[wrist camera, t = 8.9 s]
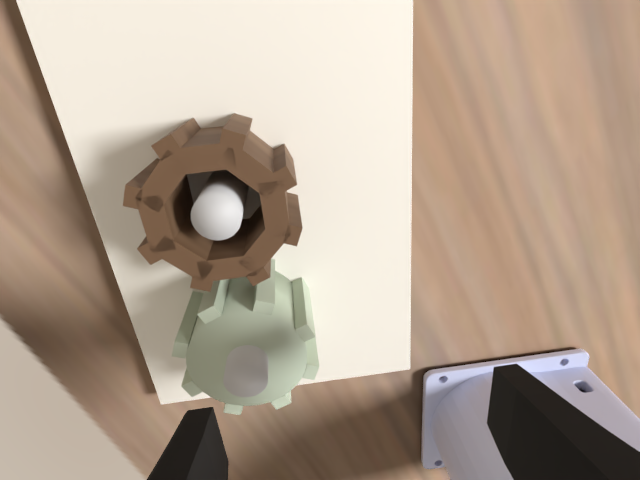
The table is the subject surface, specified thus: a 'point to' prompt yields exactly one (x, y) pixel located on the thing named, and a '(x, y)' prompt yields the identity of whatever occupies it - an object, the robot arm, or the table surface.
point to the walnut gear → (176, 203)
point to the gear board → (290, 104)
